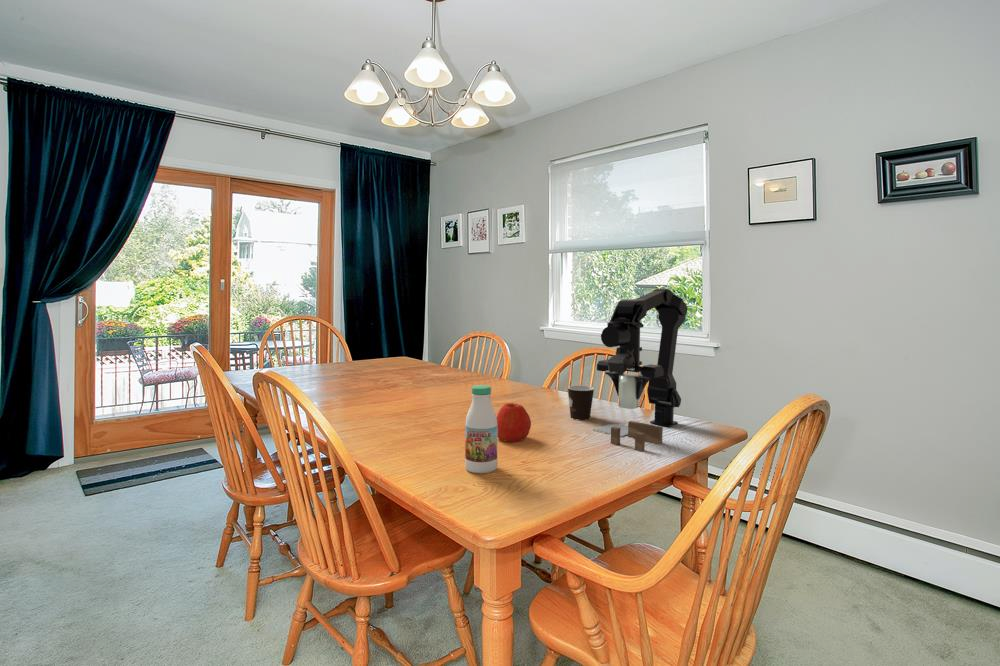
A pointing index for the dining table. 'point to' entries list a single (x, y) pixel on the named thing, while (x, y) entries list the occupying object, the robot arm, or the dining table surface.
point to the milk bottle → (481, 432)
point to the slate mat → (608, 427)
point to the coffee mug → (580, 401)
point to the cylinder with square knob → (627, 391)
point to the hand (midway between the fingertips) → (628, 397)
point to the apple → (513, 423)
